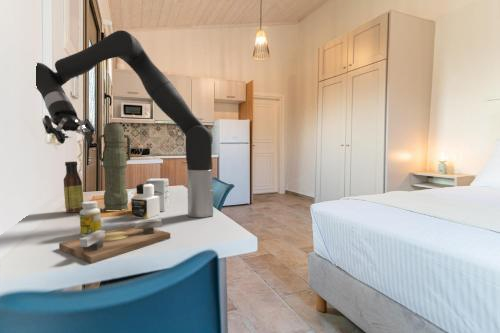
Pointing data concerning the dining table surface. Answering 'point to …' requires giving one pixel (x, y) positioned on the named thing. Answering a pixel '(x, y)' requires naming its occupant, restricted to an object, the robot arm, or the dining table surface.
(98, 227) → the supplement bottle
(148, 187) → the medicine bottle
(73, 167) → the sauce bottle
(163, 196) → the supplement box
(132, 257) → the dining table surface
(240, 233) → the dining table surface
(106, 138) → the thermos
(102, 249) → the shaft board
